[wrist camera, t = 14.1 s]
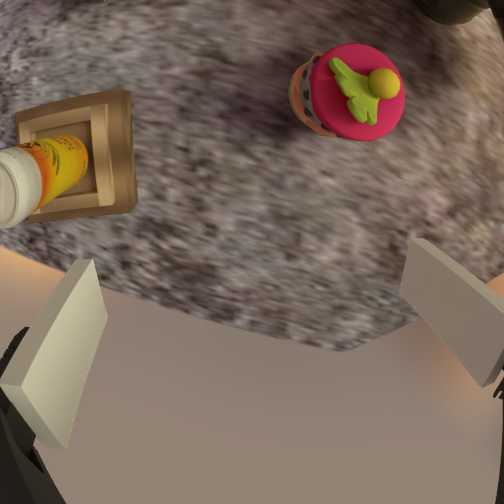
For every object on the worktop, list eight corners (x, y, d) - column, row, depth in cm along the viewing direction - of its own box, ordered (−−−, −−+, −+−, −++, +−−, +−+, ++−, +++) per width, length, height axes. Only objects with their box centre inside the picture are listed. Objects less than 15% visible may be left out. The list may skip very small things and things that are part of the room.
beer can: (91, 131, 29) (18, 150, 16) (91, 185, 32) (26, 235, 18) (45, 134, 28) (-38, 157, 15) (46, 186, 31) (-29, 233, 17)
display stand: (33, 111, 31) (8, 113, 25) (130, 91, 33) (116, 87, 27) (45, 211, 37) (24, 227, 31) (138, 200, 38) (126, 216, 33)
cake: (323, 41, 33) (382, 12, 19) (375, 99, 37) (448, 102, 23) (267, 92, 35) (303, 81, 22) (325, 150, 39) (383, 173, 26)
